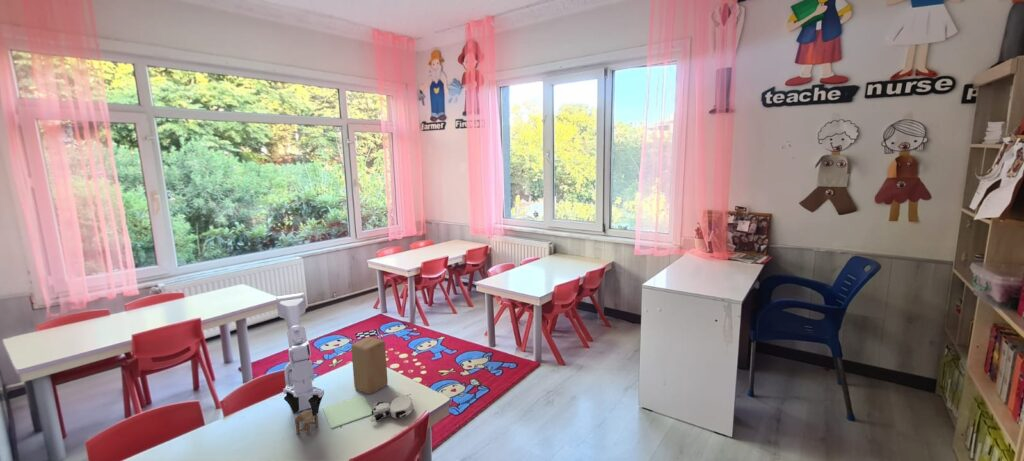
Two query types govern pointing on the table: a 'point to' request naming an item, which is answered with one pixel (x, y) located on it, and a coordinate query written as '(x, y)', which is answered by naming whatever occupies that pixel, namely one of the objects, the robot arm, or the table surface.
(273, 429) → the table surface
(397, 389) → the table surface
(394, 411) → the robot toy
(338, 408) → the sage mat
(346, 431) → the table surface
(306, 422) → the brown handled box
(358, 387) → the wooden block
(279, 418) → the table surface
